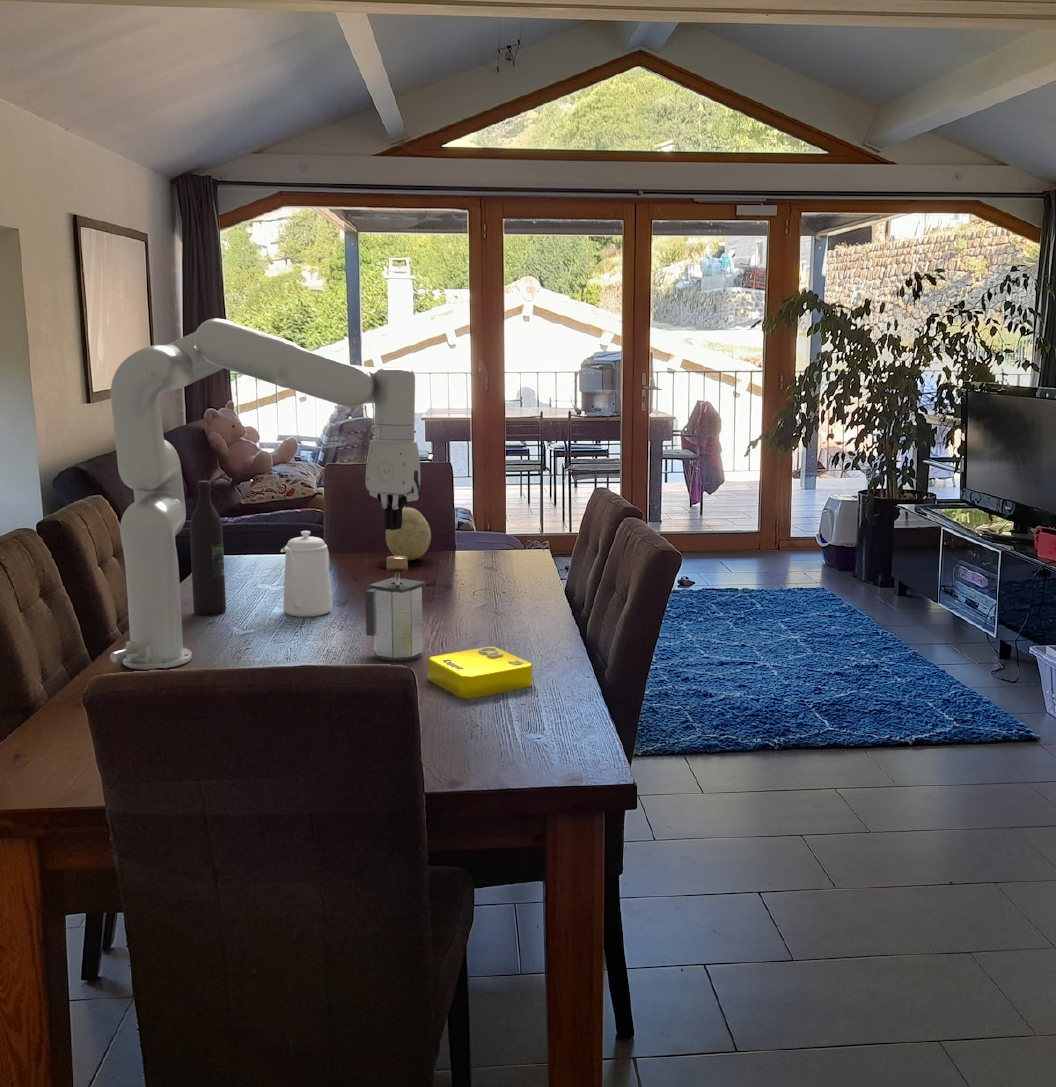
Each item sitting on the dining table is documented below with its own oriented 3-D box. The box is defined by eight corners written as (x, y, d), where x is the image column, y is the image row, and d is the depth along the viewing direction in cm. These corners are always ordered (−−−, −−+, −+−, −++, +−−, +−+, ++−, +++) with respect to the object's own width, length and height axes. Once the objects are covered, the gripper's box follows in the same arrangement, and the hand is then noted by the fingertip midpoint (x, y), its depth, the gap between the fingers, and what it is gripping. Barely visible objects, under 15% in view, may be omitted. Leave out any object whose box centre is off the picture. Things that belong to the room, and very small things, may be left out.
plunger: (402, 636, 208) (401, 562, 205) (374, 631, 211) (372, 558, 208) (421, 628, 213) (420, 556, 211) (394, 624, 217) (393, 553, 214)
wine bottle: (216, 617, 242) (210, 483, 236) (187, 615, 243) (181, 482, 238) (231, 609, 249) (225, 479, 243) (203, 608, 250) (197, 478, 244)
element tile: (424, 679, 200) (423, 654, 199) (493, 666, 208) (493, 642, 207) (464, 701, 187) (464, 675, 187) (536, 687, 196) (536, 662, 195)
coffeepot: (260, 625, 235) (257, 540, 232) (306, 598, 260) (304, 521, 256) (307, 627, 233) (305, 542, 230) (349, 601, 257) (347, 523, 254)
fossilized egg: (414, 553, 316) (414, 502, 313) (439, 560, 306) (439, 508, 303) (377, 558, 308) (376, 506, 305) (402, 566, 298) (401, 512, 296)
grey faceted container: (404, 665, 207) (403, 590, 204) (355, 656, 212) (353, 583, 210) (430, 653, 215) (430, 581, 212) (383, 645, 220) (382, 575, 218)
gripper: (350, 431, 205) (350, 527, 209) (415, 437, 198) (414, 536, 202) (374, 429, 212) (373, 522, 215) (438, 435, 205) (436, 530, 208)
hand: (393, 528), depth 208 cm, fingers closed
